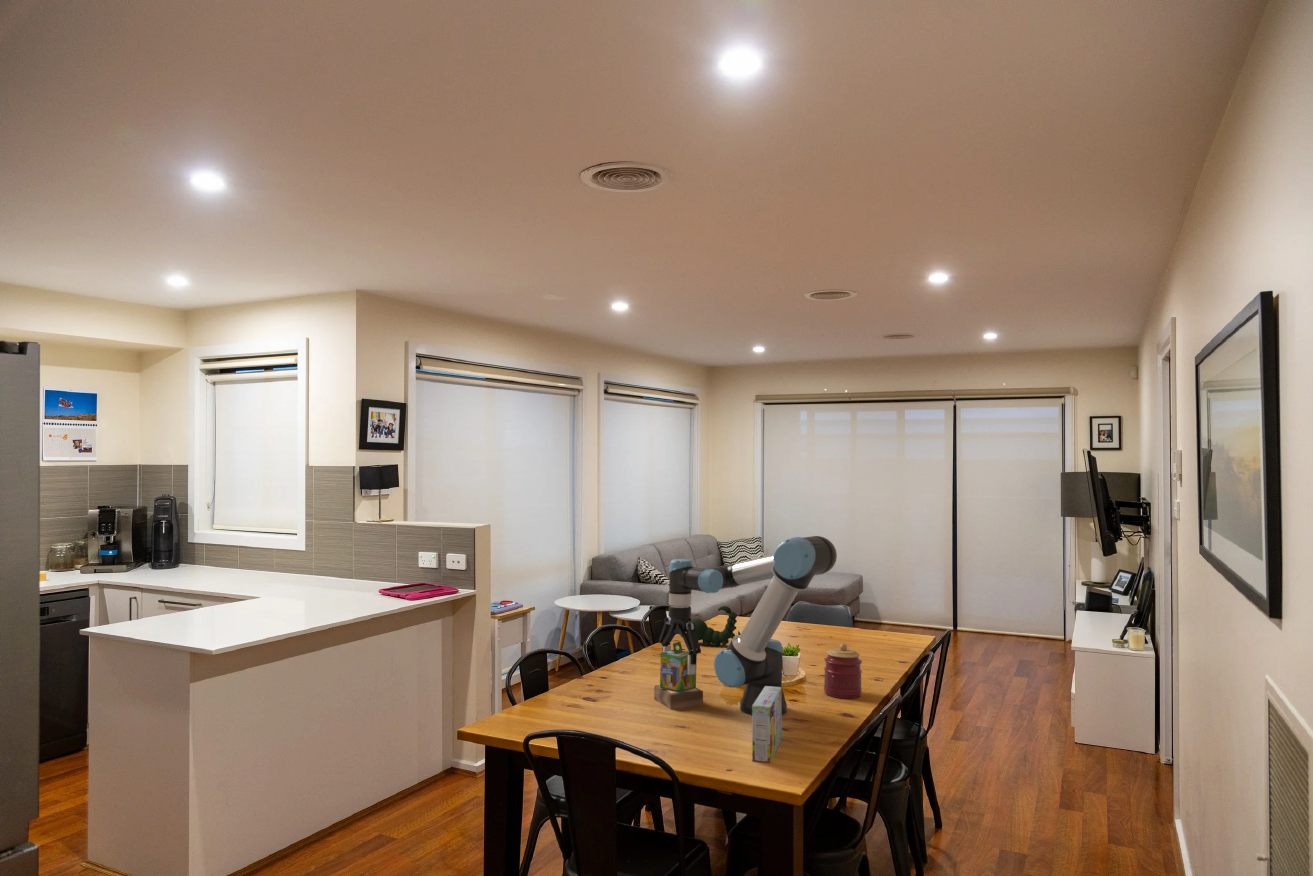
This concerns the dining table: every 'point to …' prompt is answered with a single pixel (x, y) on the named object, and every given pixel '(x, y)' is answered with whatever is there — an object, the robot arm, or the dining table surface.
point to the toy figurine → (715, 636)
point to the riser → (678, 697)
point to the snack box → (766, 724)
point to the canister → (843, 673)
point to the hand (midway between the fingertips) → (678, 669)
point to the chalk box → (676, 670)
